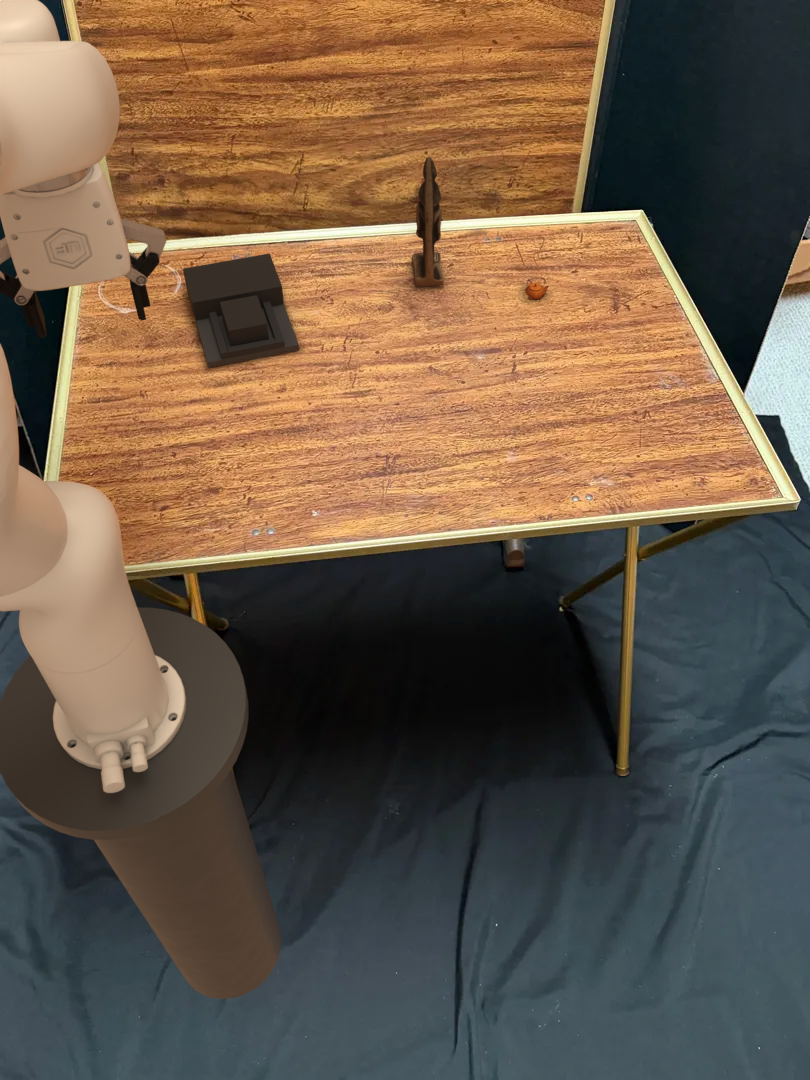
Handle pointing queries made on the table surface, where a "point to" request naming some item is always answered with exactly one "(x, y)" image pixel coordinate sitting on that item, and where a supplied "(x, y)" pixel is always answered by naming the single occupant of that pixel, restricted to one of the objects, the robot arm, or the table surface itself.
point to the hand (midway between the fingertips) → (92, 320)
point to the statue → (428, 229)
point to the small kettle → (535, 290)
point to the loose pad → (244, 320)
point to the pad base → (233, 283)
